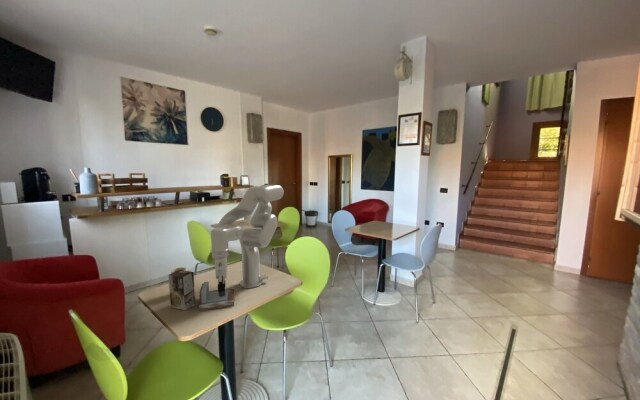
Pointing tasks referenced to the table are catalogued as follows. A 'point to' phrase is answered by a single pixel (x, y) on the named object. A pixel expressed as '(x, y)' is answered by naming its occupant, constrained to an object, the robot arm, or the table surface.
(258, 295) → the table surface
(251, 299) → the table surface
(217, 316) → the table surface
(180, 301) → the coffee box
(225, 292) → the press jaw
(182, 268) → the character mug
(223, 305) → the press bed
